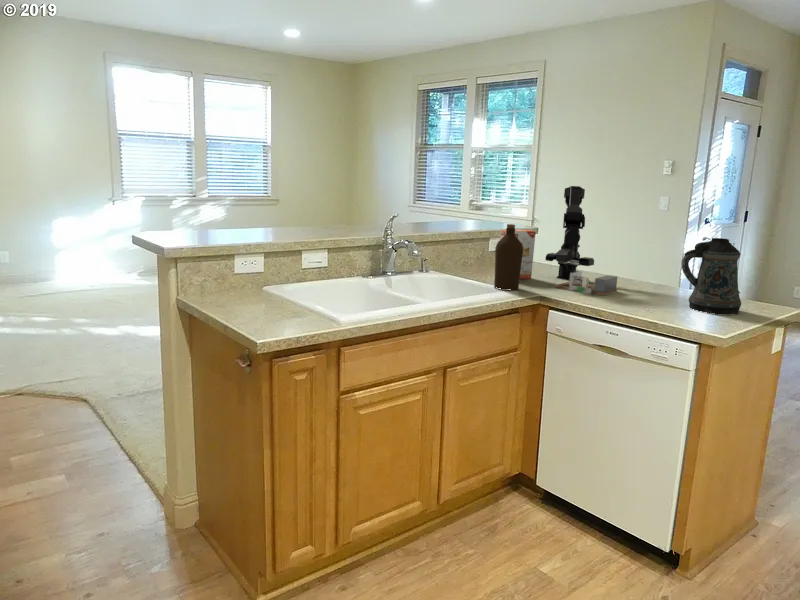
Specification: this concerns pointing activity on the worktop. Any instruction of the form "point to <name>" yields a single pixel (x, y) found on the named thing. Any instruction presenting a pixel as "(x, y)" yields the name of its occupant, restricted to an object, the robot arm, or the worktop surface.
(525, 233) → the cracker box
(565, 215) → the robot arm
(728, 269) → the beer stein
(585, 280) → the telltale
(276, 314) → the worktop surface
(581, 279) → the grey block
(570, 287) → the gauge base
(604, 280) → the grey rectangular block
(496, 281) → the olive oil
